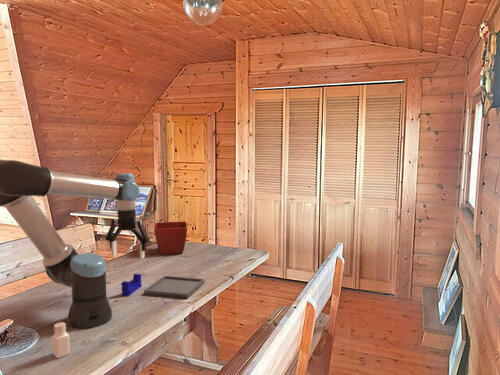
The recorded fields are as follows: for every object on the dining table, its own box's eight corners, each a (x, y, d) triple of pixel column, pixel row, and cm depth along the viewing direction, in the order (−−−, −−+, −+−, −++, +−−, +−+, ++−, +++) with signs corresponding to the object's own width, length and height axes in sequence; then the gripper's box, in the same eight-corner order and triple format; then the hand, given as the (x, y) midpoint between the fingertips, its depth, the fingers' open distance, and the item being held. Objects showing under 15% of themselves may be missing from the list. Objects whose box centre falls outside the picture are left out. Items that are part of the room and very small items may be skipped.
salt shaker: (57, 359, 118) (55, 328, 117) (51, 354, 121) (50, 324, 120) (70, 354, 121) (69, 324, 120) (65, 349, 124) (63, 320, 123)
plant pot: (154, 257, 229) (153, 228, 228) (155, 249, 248) (154, 222, 246) (187, 255, 233) (187, 227, 231) (186, 247, 252) (186, 221, 250)
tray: (187, 298, 165) (187, 294, 165) (144, 294, 170) (144, 290, 170) (204, 283, 185) (204, 279, 185) (164, 279, 189) (164, 275, 189)
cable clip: (132, 286, 181) (131, 273, 181) (141, 286, 181) (141, 274, 180) (118, 295, 170) (118, 282, 169) (128, 296, 169) (128, 282, 168)
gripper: (156, 208, 172) (158, 256, 175) (106, 206, 178) (108, 253, 180) (148, 211, 165) (150, 261, 167) (95, 209, 171) (98, 257, 173)
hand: (128, 257), depth 174 cm, fingers open, 13 cm apart
